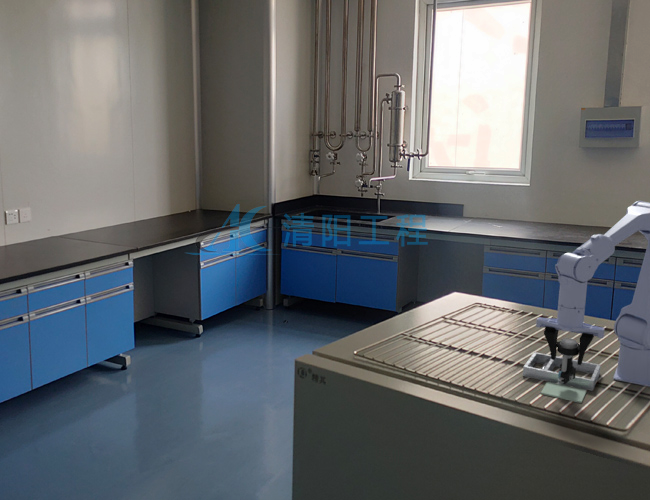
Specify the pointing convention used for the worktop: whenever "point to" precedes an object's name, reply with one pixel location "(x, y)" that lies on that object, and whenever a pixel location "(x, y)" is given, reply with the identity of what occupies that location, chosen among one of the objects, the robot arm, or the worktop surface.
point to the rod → (544, 365)
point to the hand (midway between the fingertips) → (566, 360)
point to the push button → (567, 359)
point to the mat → (564, 392)
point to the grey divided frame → (553, 376)
